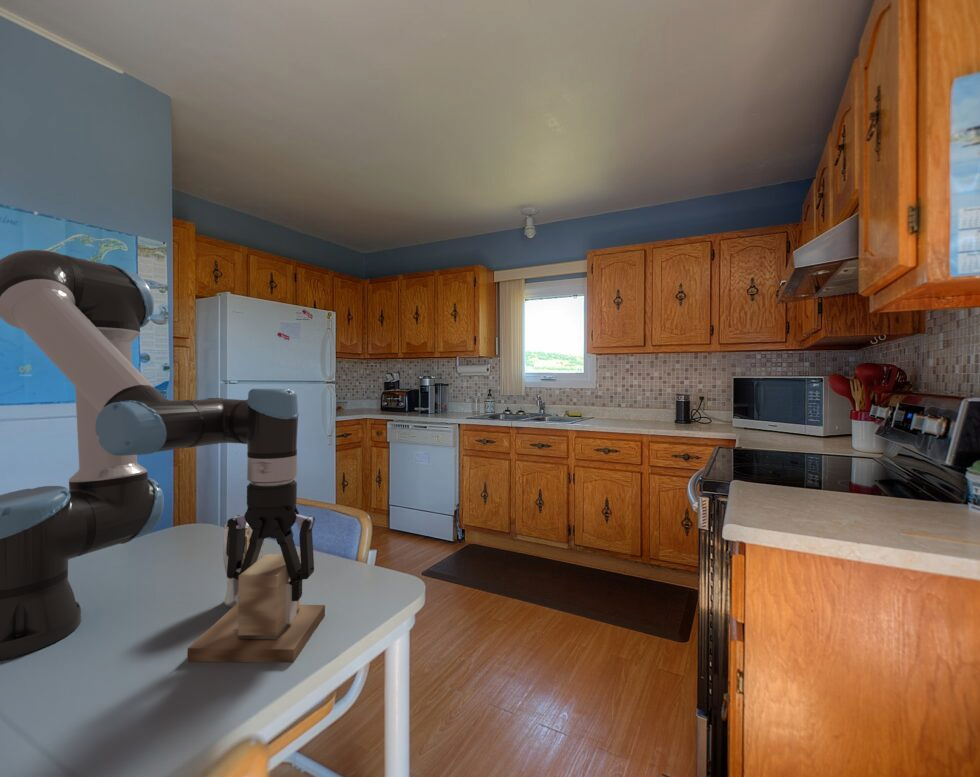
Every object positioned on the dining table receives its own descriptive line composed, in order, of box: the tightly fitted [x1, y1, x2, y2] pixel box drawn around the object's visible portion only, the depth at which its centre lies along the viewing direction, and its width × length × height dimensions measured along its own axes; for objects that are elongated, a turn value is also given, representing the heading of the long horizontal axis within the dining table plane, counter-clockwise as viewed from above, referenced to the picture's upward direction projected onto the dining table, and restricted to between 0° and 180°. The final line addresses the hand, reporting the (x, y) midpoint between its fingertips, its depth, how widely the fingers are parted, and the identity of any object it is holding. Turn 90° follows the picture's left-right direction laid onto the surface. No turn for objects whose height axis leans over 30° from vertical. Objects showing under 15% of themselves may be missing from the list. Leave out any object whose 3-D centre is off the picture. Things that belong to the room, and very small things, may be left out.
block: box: [238, 553, 301, 639], centre depth 76 cm, size 6×9×10 cm, turn 1°
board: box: [186, 604, 326, 664], centre depth 77 cm, size 16×14×2 cm
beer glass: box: [222, 523, 265, 609], centre depth 89 cm, size 7×7×15 cm
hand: (270, 618), depth 76 cm, fingers closed on block, 6 cm apart
